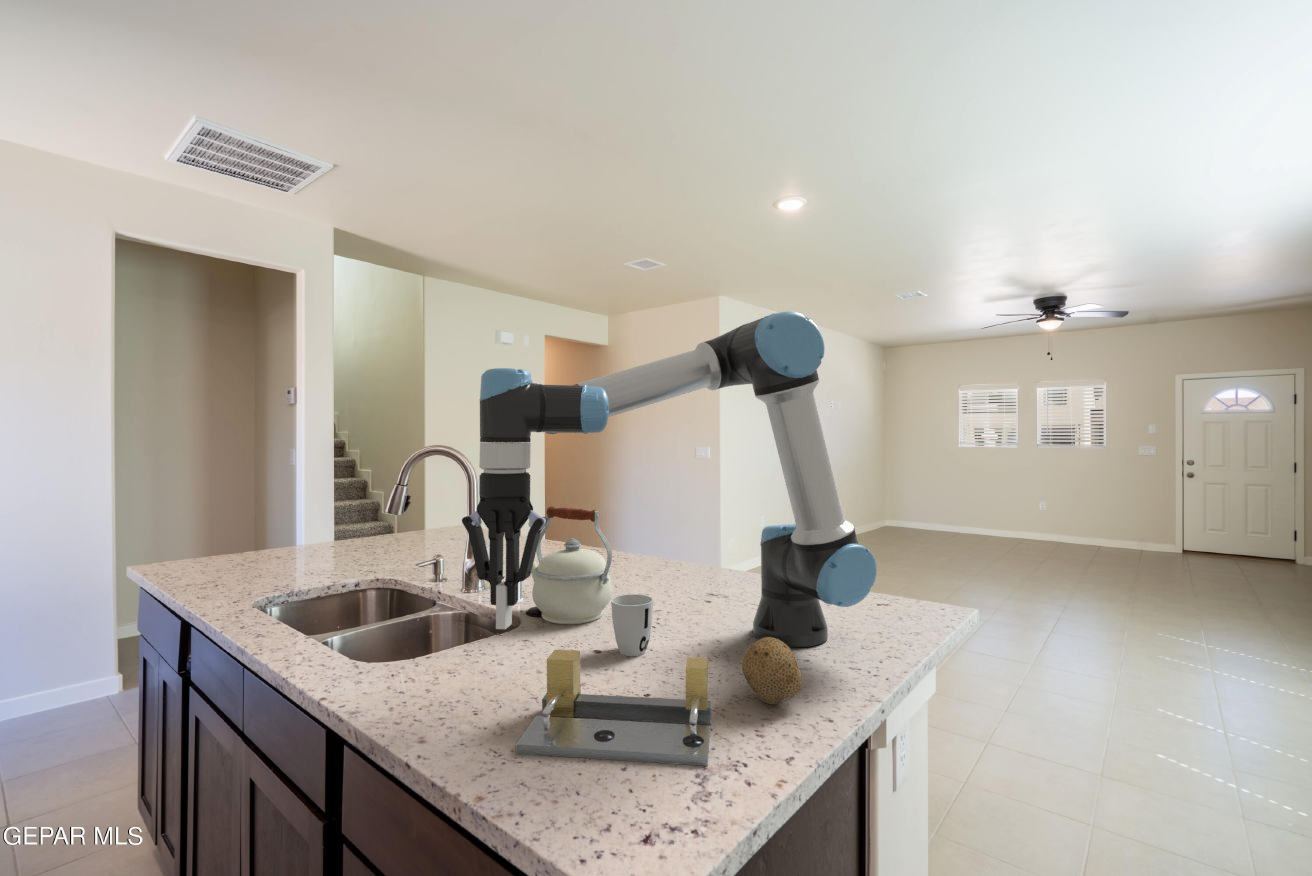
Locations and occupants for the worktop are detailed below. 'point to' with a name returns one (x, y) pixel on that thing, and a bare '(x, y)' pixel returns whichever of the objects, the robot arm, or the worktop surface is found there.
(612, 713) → the rail
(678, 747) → the bolt plate
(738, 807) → the worktop surface
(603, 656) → the worktop surface
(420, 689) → the worktop surface
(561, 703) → the block
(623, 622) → the cup
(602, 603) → the kettle
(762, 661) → the natural sponge
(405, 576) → the worktop surface
